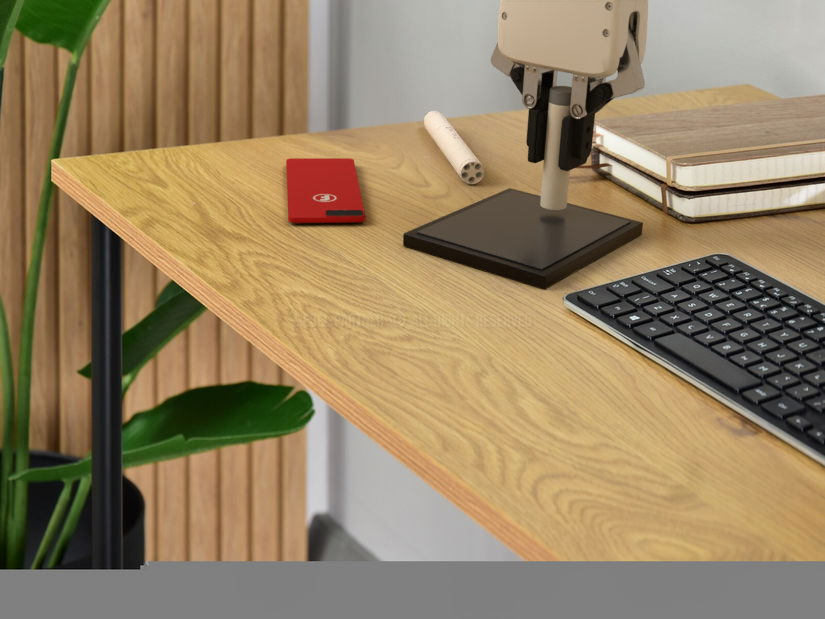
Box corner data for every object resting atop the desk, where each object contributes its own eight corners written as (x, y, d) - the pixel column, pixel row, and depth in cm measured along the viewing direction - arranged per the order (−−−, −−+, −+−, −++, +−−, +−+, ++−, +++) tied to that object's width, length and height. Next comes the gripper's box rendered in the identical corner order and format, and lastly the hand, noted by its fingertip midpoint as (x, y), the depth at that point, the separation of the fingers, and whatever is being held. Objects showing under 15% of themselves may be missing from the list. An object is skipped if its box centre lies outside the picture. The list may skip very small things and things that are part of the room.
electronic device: (286, 163, 104) (288, 223, 90) (286, 157, 103) (288, 216, 90) (353, 163, 104) (365, 223, 91) (353, 157, 104) (365, 216, 90)
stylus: (548, 200, 92) (558, 84, 89) (571, 206, 91) (582, 88, 88) (535, 206, 91) (544, 88, 87) (557, 212, 90) (568, 93, 86)
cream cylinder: (419, 126, 116) (419, 102, 115) (440, 126, 117) (441, 102, 116) (459, 185, 100) (461, 158, 99) (484, 184, 100) (485, 157, 100)
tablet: (508, 199, 97) (509, 186, 97) (642, 234, 91) (643, 221, 90) (402, 246, 87) (403, 231, 87) (544, 289, 80) (545, 274, 80)
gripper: (711, -89, 81) (676, 174, 88) (512, -109, 89) (496, 132, 97) (660, -82, 75) (628, 198, 83) (453, -104, 84) (441, 151, 91)
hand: (557, 161), depth 90 cm, fingers closed on stylus, 2 cm apart
